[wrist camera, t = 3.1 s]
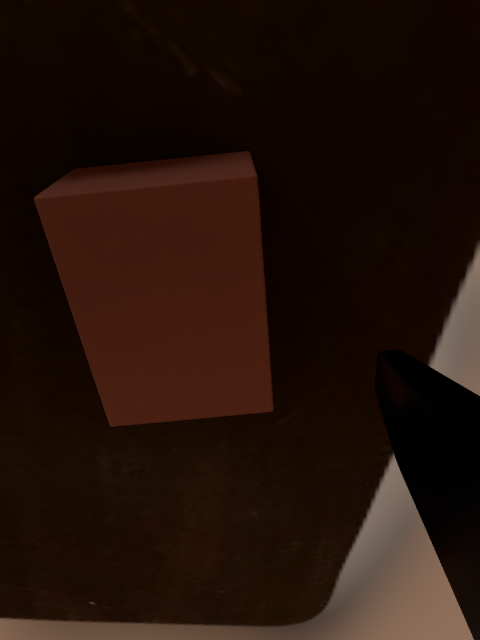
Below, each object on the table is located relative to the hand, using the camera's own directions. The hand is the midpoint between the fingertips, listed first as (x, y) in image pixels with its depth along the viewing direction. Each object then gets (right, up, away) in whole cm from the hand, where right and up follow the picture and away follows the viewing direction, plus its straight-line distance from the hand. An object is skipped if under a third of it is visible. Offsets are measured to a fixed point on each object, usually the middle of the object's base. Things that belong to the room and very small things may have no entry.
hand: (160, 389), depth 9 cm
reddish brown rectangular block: (0, +3, +5) cm, 6 cm away
